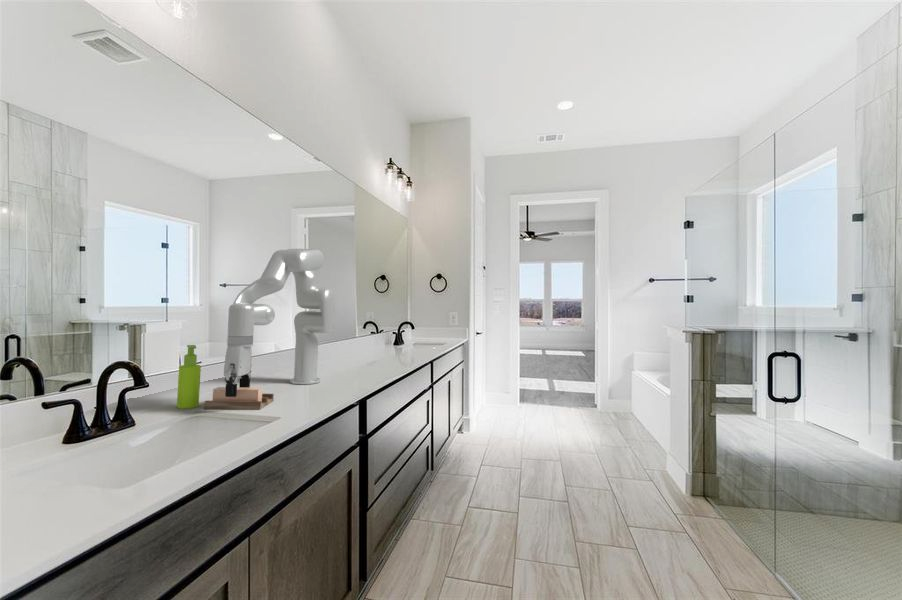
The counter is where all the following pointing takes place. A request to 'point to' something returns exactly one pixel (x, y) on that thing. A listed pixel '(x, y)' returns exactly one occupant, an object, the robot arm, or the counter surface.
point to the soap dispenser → (189, 381)
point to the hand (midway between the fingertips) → (237, 393)
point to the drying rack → (240, 404)
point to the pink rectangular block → (238, 394)
